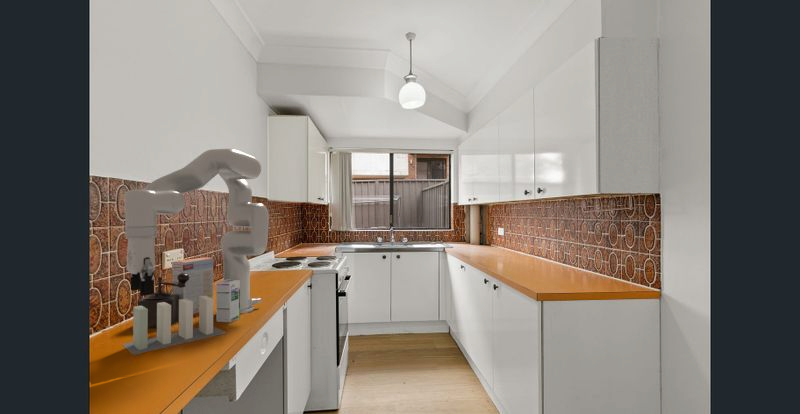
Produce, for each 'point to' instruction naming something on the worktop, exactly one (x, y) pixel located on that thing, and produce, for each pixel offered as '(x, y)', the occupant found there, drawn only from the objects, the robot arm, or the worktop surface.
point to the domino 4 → (206, 315)
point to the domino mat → (175, 340)
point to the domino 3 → (186, 318)
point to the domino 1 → (140, 327)
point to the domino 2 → (164, 322)
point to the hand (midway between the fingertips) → (142, 292)
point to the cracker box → (194, 280)
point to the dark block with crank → (159, 297)
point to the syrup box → (228, 300)
